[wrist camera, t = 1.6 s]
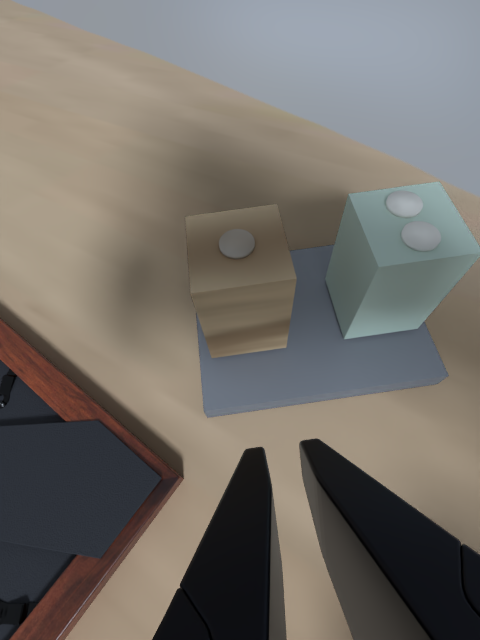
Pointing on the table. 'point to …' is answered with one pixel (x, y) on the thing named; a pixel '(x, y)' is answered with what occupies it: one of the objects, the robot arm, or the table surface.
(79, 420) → the picture frame
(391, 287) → the two-stud toy brick
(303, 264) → the key base
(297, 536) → the table surface
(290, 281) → the wooden button block
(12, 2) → the table surface
